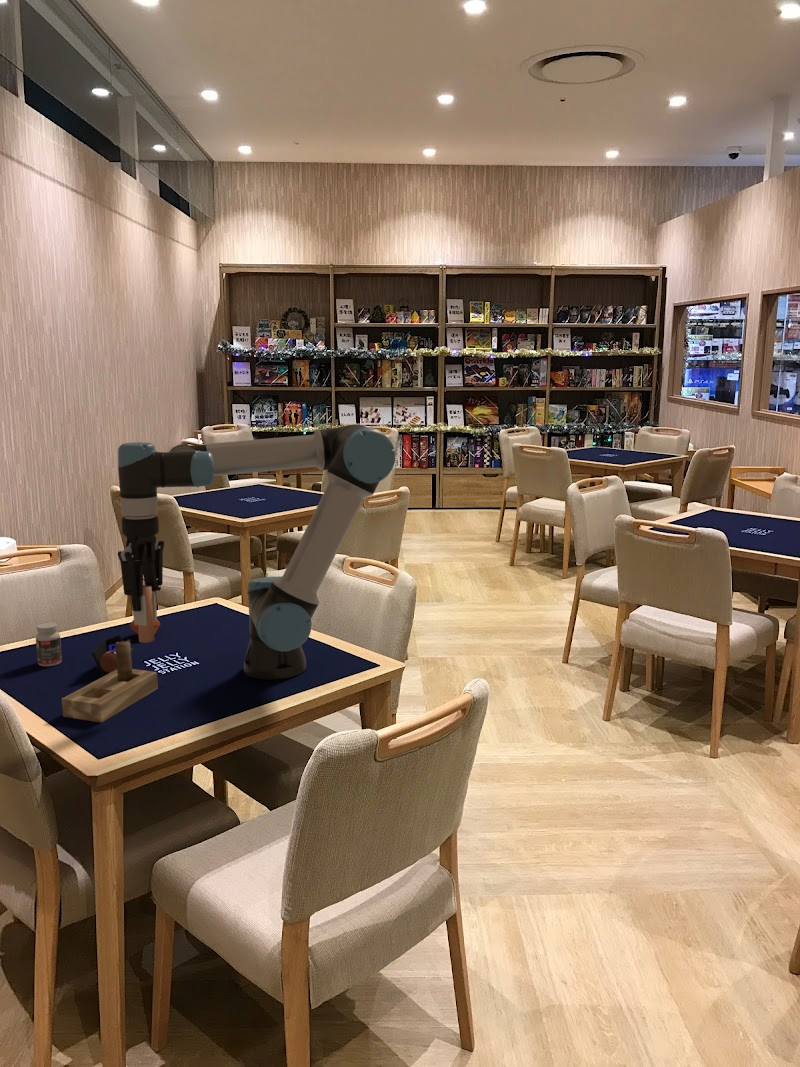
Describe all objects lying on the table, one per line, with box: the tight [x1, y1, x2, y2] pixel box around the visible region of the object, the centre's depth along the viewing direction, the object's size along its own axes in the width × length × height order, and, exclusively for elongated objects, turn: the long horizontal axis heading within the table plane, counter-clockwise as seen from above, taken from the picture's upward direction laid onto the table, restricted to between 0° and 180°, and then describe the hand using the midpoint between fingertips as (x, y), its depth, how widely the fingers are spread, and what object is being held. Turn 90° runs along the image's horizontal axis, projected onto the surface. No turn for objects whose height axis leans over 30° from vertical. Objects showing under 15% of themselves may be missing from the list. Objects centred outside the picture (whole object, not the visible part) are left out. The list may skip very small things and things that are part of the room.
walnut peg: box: [115, 640, 133, 682], centre depth 194 cm, size 3×3×12 cm
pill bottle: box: [35, 622, 63, 667], centre depth 215 cm, size 6×6×10 cm
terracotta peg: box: [138, 584, 155, 644], centre depth 186 cm, size 3×3×12 cm
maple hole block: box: [61, 668, 159, 723], centre depth 190 cm, size 10×20×4 cm, turn 161°
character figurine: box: [91, 634, 134, 677], centre depth 210 cm, size 8×7×15 cm
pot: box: [129, 619, 161, 636], centre depth 236 cm, size 8×8×7 cm
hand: (145, 622), depth 186 cm, fingers closed on terracotta peg, 3 cm apart
